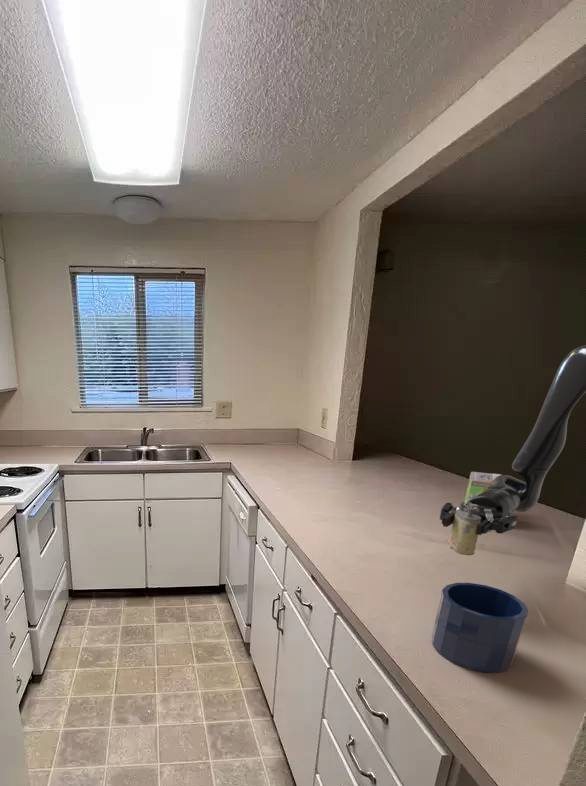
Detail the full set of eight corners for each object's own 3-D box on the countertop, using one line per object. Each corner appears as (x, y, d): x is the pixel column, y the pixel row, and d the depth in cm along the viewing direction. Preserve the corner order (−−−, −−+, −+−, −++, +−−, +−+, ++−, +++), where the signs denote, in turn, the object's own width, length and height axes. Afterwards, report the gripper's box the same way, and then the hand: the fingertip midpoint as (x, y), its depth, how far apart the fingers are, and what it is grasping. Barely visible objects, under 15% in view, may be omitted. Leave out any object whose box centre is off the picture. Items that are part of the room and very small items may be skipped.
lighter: (477, 556, 89) (487, 510, 85) (456, 555, 90) (466, 509, 86) (462, 543, 95) (472, 499, 92) (444, 542, 96) (452, 499, 93)
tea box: (497, 528, 139) (508, 484, 134) (460, 523, 144) (470, 480, 139) (495, 514, 151) (505, 473, 146) (461, 510, 156) (470, 470, 151)
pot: (463, 625, 90) (474, 577, 86) (528, 662, 78) (545, 609, 75) (416, 639, 85) (426, 590, 82) (478, 680, 74) (494, 626, 70)
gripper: (458, 485, 103) (428, 501, 93) (532, 498, 92) (507, 517, 82) (452, 515, 105) (422, 533, 95) (524, 531, 95) (498, 553, 85)
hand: (461, 526), depth 89 cm, fingers closed on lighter, 5 cm apart
